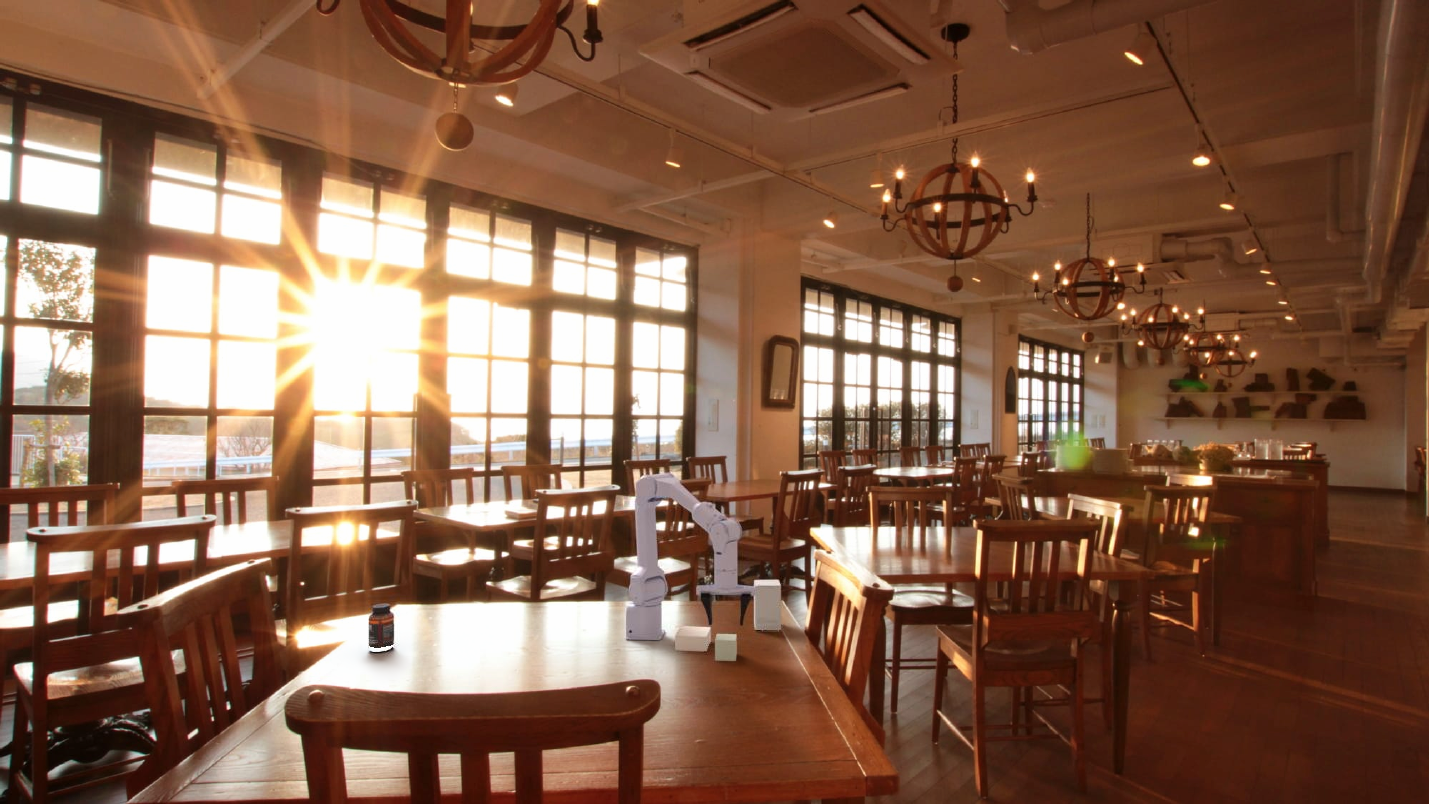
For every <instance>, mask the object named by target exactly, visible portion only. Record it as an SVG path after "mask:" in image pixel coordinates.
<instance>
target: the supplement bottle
mask: <svg viewBox="0 0 1429 804" xmlns="http://www.w3.org/2000/svg"><path fill="white" fill-rule="evenodd" d="M393 644H394V645H395V614H394V612H392V611H391V605H390V603H377V604H375V605H372V613H371V614H370V615H369V616H368V647H369V646H370V647H374V648H381V647H386V646H391V645H393Z"/></svg>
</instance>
